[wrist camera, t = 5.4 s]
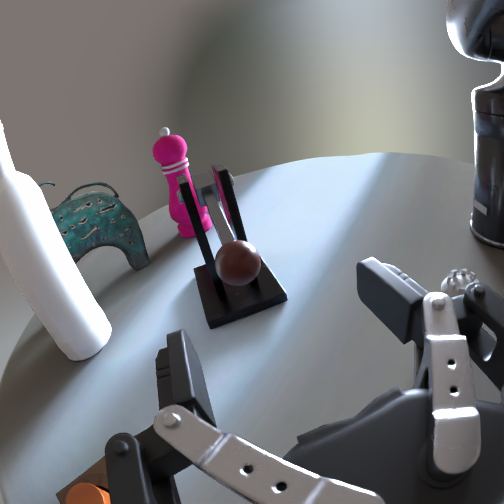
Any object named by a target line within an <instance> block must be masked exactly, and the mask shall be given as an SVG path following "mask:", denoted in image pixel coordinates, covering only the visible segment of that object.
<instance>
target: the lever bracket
mask: <svg viewBox="0 0 504 504" xmlns="http://www.w3.org/2000/svg"><path fill="white" fill-rule="evenodd" d="M212 170H213V173H214V177H215V180H216V184H217V187H218V191H219V194H220V198H221V201H222V205H223V208H224V211H225V215H226V218H227V222H228V225H229V227H230V229H231V231H232V234H233V236H234V238H235V240H242V241H246V242H247V238H246V235H245V231H244V227H243V224H242V220H241V216H240V212H239V209H238V205H237V201H236V198H235V194H234V190H233V187H232V186H234V181H233V178H232V175H231V174H229V172H228V169H227V168H226V167H224V166H223V165H222V164H221V163H216V164H213V165H212ZM177 180H178V184H179V188H180V190H179V191H176V193H177V196H178V199H179V202H180V204H181V203H185V206H186V209H187V212H188V215H189V217H190V220H191V223H192V226H193V229H194V232H195V235H196V238H197V240H198V243H199V246H200V249H201V252H202V254H203V257H204V260H205V263H206V264H205V265H202V266H200V267H197V268H194V273H195V277H196V281H197V285H198V289H199V293H200V297H201V301H202V305H203V309H204V312H205V316H206V320H207V323H208V325H209V327H210V329H213V328H216V327H219V326H222V325H224V324H227V323H230V322H233V321H235V320H238V319H241V318H243V317H246V316H249V315H251V314H254V313H257V312H259V311H262V310H265V309H267V308H270V307H272V306H275V305H277V304H280V303H283V302H285V301H287V300H288V299H287V295H286V292H285V290H284V289H283V287H282V286H281V285H280V283H279V282H278V280H277V279H276V278H275V276H274V275H273V273H272V272H271V270H270V269H269V268H268V266H267V265H266V263H265V262H264V261H263V259H262V258H261V256H260V255H259V256H260V262H261V265H260V270H259V273H258V275H257V276H256V277H255V279H254V280H253V281H251V282H250V283H248V284H246V285H242V286H233V285H230V284H227V283H226V282H224V281H223V280H222V279H221V278H220V277H219V276H218V274H217V272H216V269H215V260H214V257H213V255H212V252H211V249H210V246H209V243H208V240H207V237H206V234H205V231H204V228H203V225H202V222H201V219H200V216H199V213H198V210H197V207H196V204H195V201H194V197H193V194H192V191H191V188H190V185H189V182H188V179H187V177H186V174H182V175H179V176H177Z"/></svg>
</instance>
